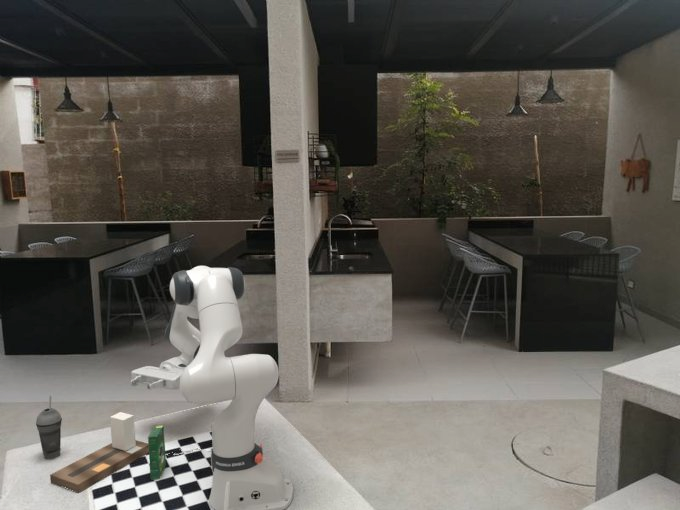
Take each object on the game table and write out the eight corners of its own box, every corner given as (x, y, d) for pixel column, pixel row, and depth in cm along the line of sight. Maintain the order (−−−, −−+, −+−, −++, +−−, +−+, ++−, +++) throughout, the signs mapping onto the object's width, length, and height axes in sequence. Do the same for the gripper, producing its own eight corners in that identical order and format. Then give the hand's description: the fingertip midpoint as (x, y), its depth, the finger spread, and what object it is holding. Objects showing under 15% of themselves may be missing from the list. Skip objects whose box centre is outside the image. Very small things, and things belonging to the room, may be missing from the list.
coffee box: (157, 465, 162) (154, 424, 161) (166, 465, 162) (164, 424, 161) (149, 480, 154) (146, 436, 153) (160, 479, 154) (157, 436, 153)
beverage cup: (47, 450, 173) (42, 391, 171) (69, 450, 173) (64, 391, 170) (34, 461, 166) (28, 400, 164) (56, 461, 166) (51, 400, 163)
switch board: (124, 443, 177) (123, 436, 176) (150, 451, 171) (150, 443, 171) (50, 482, 154) (50, 474, 153) (78, 493, 148) (77, 484, 148)
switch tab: (122, 441, 172) (120, 412, 171) (135, 445, 170) (133, 415, 168) (112, 447, 169) (109, 416, 168) (125, 450, 166) (123, 420, 165)
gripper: (149, 359, 191) (117, 371, 178) (193, 367, 181) (162, 380, 169) (150, 376, 191) (118, 389, 179) (194, 385, 182) (163, 399, 170)
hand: (140, 385), depth 174 cm, fingers open, 6 cm apart
